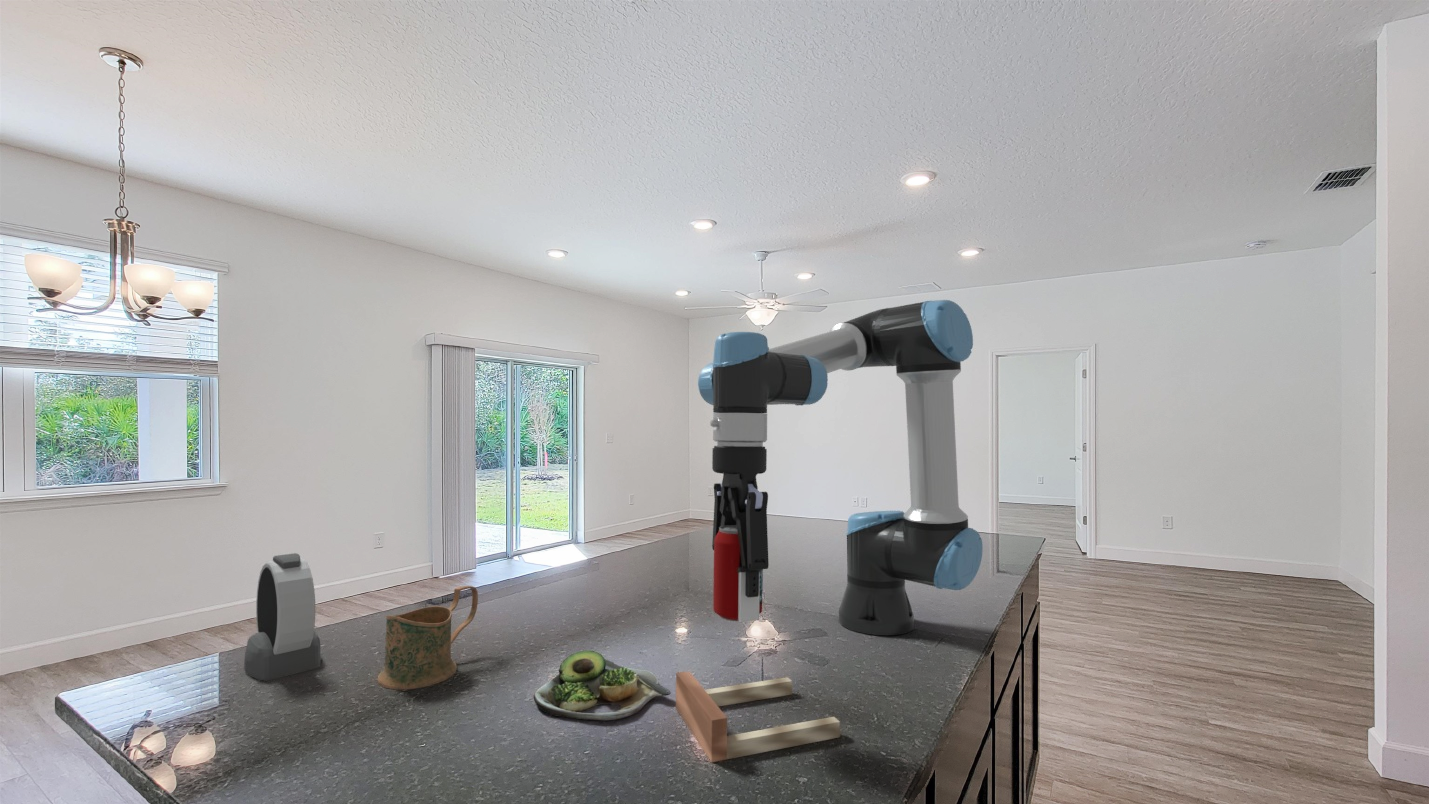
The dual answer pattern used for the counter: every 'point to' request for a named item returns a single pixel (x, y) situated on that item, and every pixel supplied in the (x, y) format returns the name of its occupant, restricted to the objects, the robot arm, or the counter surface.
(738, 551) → the beverage can
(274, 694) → the counter surface
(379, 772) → the counter surface
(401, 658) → the mug
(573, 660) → the avocado toast plate
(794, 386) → the robot arm
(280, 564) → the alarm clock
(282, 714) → the counter surface
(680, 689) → the guide channel
